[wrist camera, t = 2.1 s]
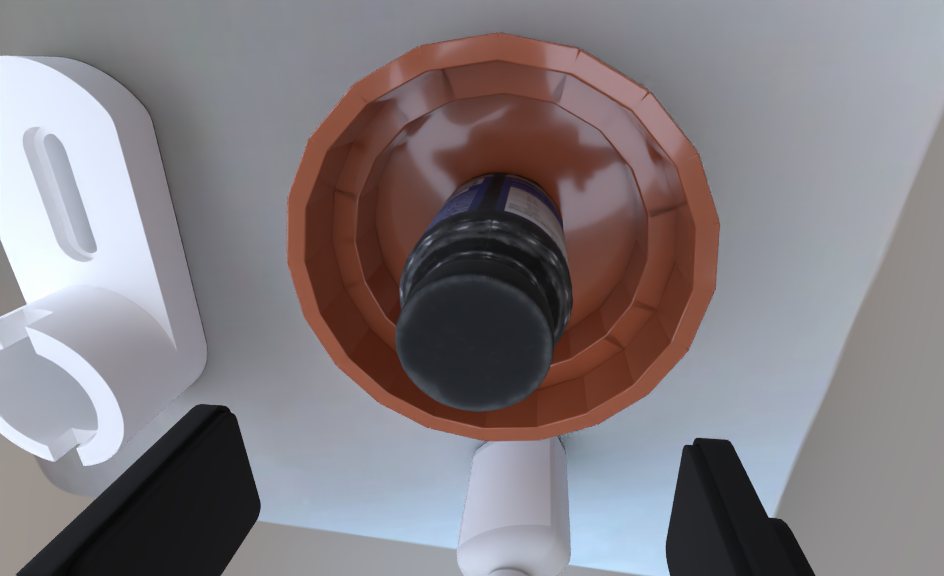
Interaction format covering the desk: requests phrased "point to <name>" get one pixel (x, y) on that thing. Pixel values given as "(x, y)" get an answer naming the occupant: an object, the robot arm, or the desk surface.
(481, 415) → the bowl
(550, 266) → the pill bottle
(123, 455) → the desk surface
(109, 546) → the robot arm
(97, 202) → the bracket
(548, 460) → the eye dropper bottle
